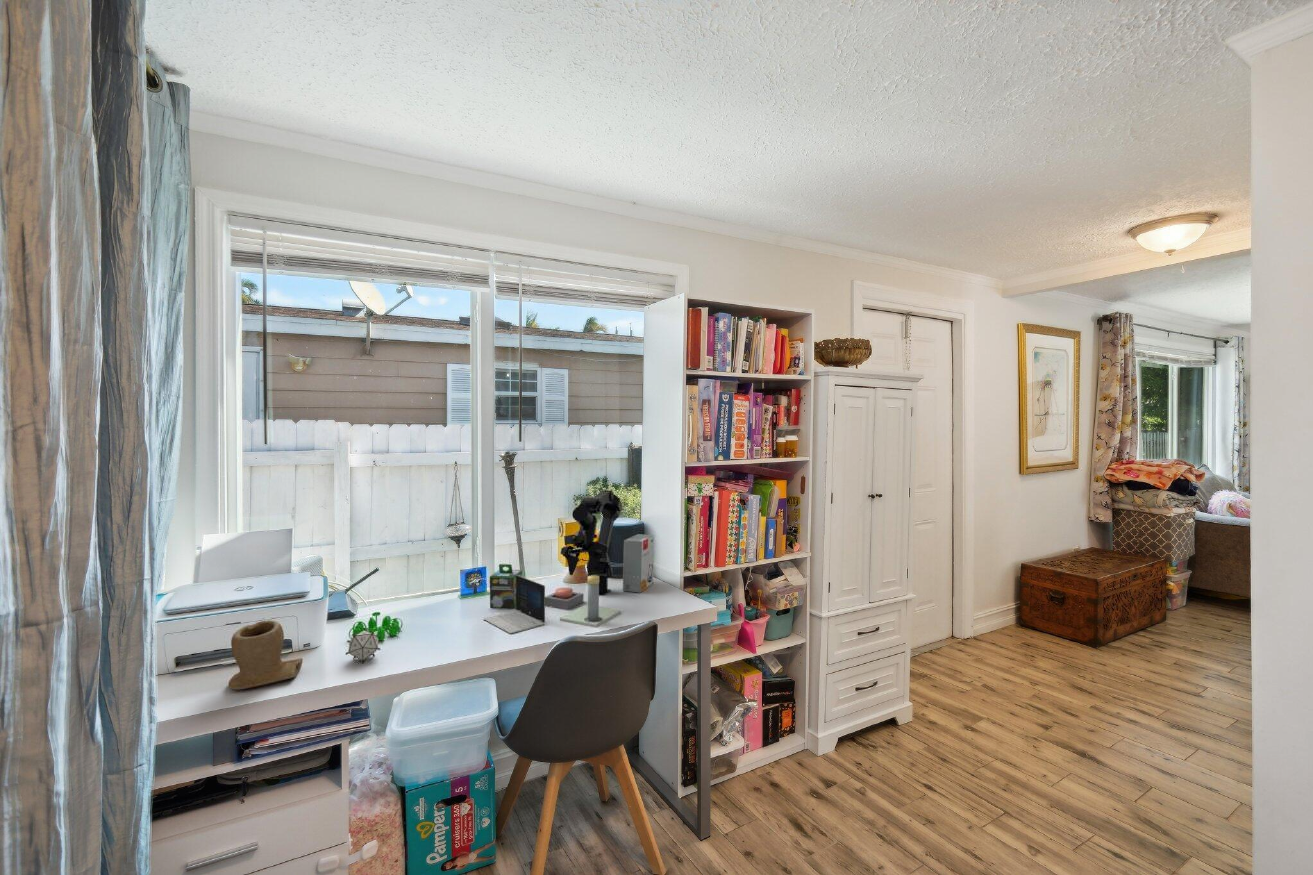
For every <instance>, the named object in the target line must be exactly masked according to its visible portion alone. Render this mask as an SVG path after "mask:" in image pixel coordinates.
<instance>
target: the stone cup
mask: <svg viewBox="0 0 1313 875" xmlns="http://www.w3.org/2000/svg"><path fill="white" fill-rule="evenodd" d="M284 640H285V633H284V630H283V627H282V624H280V623H279V622H278V621H276V620H270V619H269V620H261V621H258V622H256V623H254V624H249V625H245V626H243V627H240V628H239V629H238V630H237V631H235V632H234V634H233V635H232V637H231V640H230V641H231V642H230V644H231V651H232V656H233V658H234V660H235V662H236V664H237V667H238V668H239V672H237V673H235V674H234V675H233V676H232V677H231V678H230V680H228V687H229V688H230V689H231V690H237V691H239V690H244V689H250V688H251V689H252V688H255V687H256V688H257V687H260V686H264V685H269V684H273V683H278V682H282V681H286V680H289V679H293V678H295V677H297V676H298V674H299V672H300V671H301V668H302V664H303V658H302V657H301V658H295V659H291V660H285V661H282V659H281V658H282V657H281V656H282V651H283V646H284Z"/></svg>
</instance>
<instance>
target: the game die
mask: <svg viewBox="0 0 1313 875" xmlns="http://www.w3.org/2000/svg"><path fill="white" fill-rule="evenodd" d="M365 629H366V628H365V626H364V628H363V630H364V631H362V632H360V633H358V634H357V635H354V634H353V633H352V634H351V636H352V637H351V638H352V639H350V640H349V639H348V640H346V642H347V643H348V650H347V652H345V655H349V654H350V655H351V656H353V657H352V658H353V660H355V659H358V660H360V661H361V664H364V663H365V660H367V659H369V658H370V657H372V656H373V657H375V656H376V654H375V653H376V652H377V651H381V648H380V647H379V640H378V639H380V638H381V636H380V637H377V635H375V631H373V632H371V633H370V632H368V631H366V630H365ZM353 636H354V637H353ZM354 658H355V659H354Z"/></svg>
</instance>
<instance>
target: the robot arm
mask: <svg viewBox="0 0 1313 875" xmlns="http://www.w3.org/2000/svg"><path fill="white" fill-rule="evenodd" d="M622 510H623V504H622V501H621V498H620V497H619V496H617V495H616V494H615V493H614V491H612V490H609V489H607V490H606V489H605V490H601V491H599V492H598V493H596V494H595V495H594V496H591V497H589V496H587V497H584V498H582V499H581V501H580V502H579V504H578V506H577V507H575V508H574V509H573V511H572V514H571V515H572V519H573V520H574V521H575V522H576V523H577V524H578V525H579V530H578V531H575V533H574V534H568V535H564V536H563V537H564V538H563V540H564V541H563V542H564V546H563V547H561V549H560V555H562V556H563V557H564V558H565V560H566V562H567V565H568V573H569V576H573V575H574V573H575V570H576V568H577V565H578V563H579V560H580V556H581V555H580V554H583V553H587V554H588V561H587V562H586V571H587V572H586V573H587V577H588V576H591V575H597V576H599V596H604V595H605V594H607V593H610V592H612V589H610V588H609V586H608V585H609V579H610V578H613V571H614V570H613V568H612V565H611V560H610V557H609V556H608V552H609V547H610V543H611V538H612V532H613V529H614V528H613V527H614V524H615V521H617V519H619V517H620V515H621V512H622ZM593 514H594V515H593ZM600 514H601V516H602V520H601V525H600V530H599V535H597V534H596V528H597V524H598V518H597V517H596V515H600ZM597 537H598V538H597ZM595 539H597V540H595Z"/></svg>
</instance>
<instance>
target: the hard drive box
mask: <svg viewBox="0 0 1313 875" xmlns="http://www.w3.org/2000/svg"><path fill="white" fill-rule="evenodd" d="M654 547H655V535H653V534H640V533H639V534H638V533H637V534H636V535H635V534H634V535H633V536H630V537H628V538H627V539H624V540H623V561H622V562H623V565H622V566H623V567H622V569H623V570H622V571H623V572H622V591H624V592H630V593H631V592H632V593H642V592H643V591H645V590H646V589H648V586H649V587H651V585H653V584H652V583H654V561H655V560H654V556H655V555H654V554H655V548H654Z"/></svg>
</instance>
